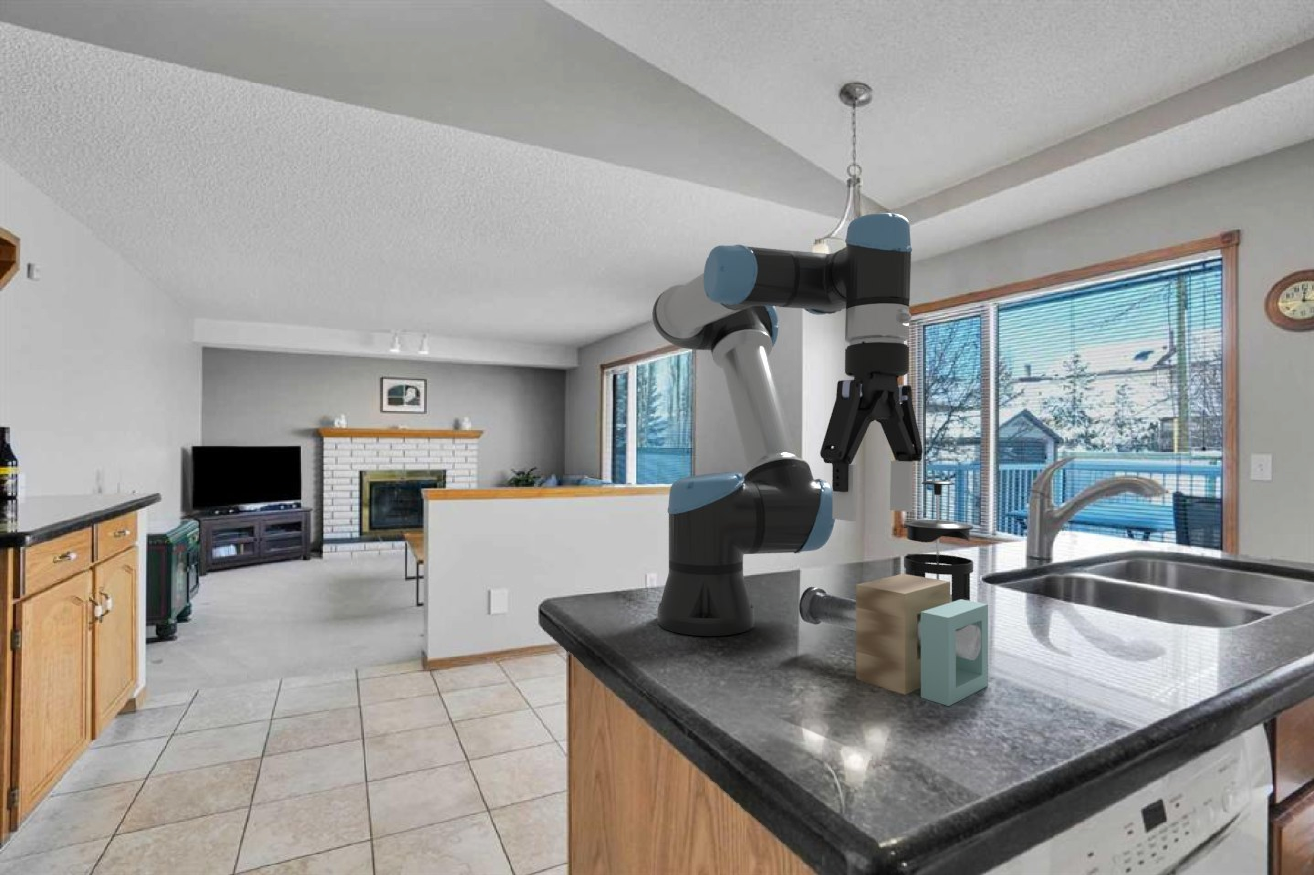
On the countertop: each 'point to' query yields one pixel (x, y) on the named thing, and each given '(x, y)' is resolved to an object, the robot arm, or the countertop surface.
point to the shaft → (843, 614)
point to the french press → (929, 533)
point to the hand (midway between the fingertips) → (874, 515)
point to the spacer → (952, 652)
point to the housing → (893, 628)
